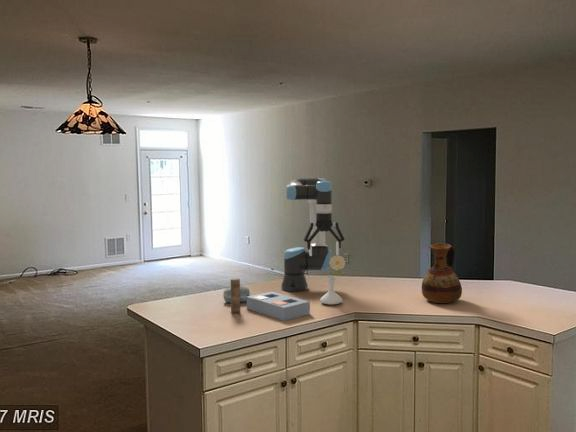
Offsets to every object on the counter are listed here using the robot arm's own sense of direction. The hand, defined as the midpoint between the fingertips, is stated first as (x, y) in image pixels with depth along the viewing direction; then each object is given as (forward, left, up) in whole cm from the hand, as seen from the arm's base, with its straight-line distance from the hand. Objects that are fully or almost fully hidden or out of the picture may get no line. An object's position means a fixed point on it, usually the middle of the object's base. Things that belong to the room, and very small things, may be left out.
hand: (324, 255), depth 255 cm
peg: (-19, -41, -25) cm, 52 cm away
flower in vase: (+1, +5, -26) cm, 26 cm away
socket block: (-7, -25, -25) cm, 36 cm away
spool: (-35, -29, -26) cm, 52 cm away
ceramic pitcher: (+35, +50, -26) cm, 66 cm away
